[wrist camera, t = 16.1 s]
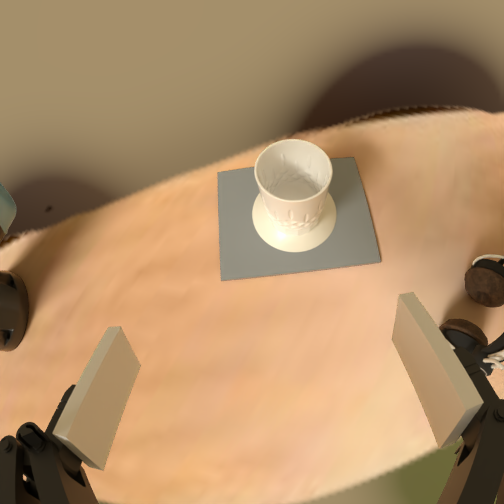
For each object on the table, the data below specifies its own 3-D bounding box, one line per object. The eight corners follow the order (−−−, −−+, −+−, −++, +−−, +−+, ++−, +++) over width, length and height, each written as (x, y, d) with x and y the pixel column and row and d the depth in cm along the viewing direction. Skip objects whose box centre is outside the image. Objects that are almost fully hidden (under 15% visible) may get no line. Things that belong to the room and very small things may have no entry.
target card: (221, 281, 37) (220, 280, 36) (218, 173, 42) (217, 172, 42) (379, 262, 35) (381, 261, 34) (353, 158, 40) (353, 156, 40)
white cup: (276, 180, 40) (269, 132, 31) (331, 196, 38) (340, 149, 29) (255, 230, 38) (242, 189, 29) (314, 249, 36) (320, 212, 27)
